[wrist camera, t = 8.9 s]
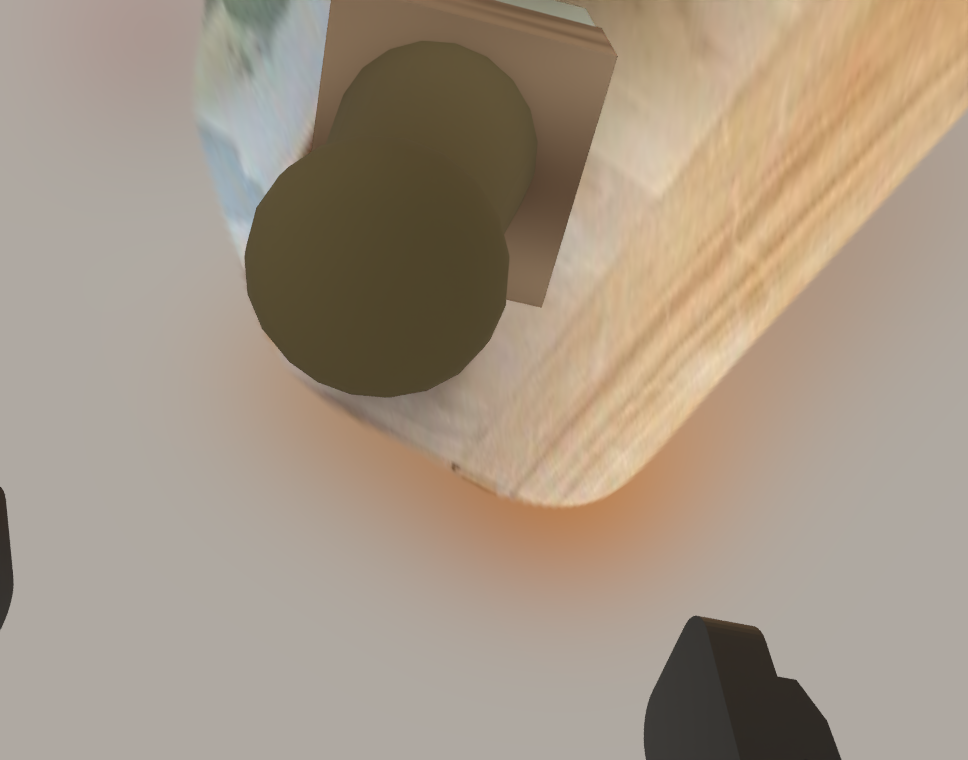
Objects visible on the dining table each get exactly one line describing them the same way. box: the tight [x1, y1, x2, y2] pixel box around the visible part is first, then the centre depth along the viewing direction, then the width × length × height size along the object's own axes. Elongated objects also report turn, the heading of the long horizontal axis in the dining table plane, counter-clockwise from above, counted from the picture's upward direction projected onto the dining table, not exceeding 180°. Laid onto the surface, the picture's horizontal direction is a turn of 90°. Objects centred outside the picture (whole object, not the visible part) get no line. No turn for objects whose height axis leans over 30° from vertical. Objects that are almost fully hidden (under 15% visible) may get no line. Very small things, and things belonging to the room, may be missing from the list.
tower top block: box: [311, 0, 618, 308], centre depth 27 cm, size 8×8×5 cm
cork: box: [245, 41, 538, 397], centre depth 20 cm, size 6×6×11 cm
